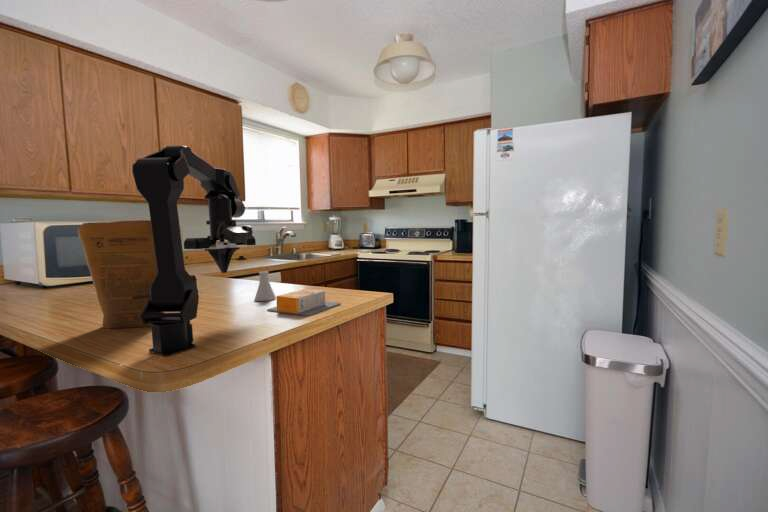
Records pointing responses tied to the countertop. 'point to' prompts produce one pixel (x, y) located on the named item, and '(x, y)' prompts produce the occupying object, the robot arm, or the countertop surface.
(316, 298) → the supplement box
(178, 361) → the countertop surface
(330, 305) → the mat
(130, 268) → the pancake mix bag
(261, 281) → the flask
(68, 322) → the countertop surface
